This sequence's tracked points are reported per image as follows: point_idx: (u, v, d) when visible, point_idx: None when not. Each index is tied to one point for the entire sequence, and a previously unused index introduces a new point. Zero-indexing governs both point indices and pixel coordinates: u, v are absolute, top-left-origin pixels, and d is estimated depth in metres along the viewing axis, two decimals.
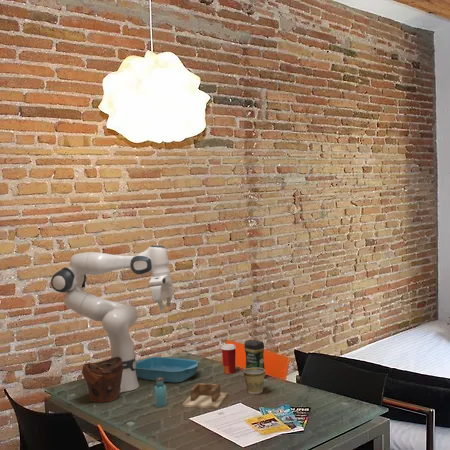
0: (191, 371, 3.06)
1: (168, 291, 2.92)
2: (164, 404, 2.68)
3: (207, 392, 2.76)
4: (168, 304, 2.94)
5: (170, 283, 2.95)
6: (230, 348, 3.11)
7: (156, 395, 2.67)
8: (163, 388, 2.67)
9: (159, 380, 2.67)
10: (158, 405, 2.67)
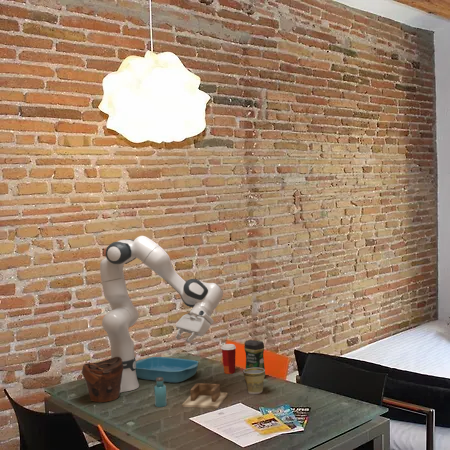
0: (191, 371, 3.06)
1: None
2: (164, 404, 2.68)
3: (207, 392, 2.76)
4: (179, 336, 2.79)
5: None
6: (230, 348, 3.11)
7: (156, 395, 2.67)
8: (163, 388, 2.67)
9: (159, 380, 2.67)
10: (158, 405, 2.67)
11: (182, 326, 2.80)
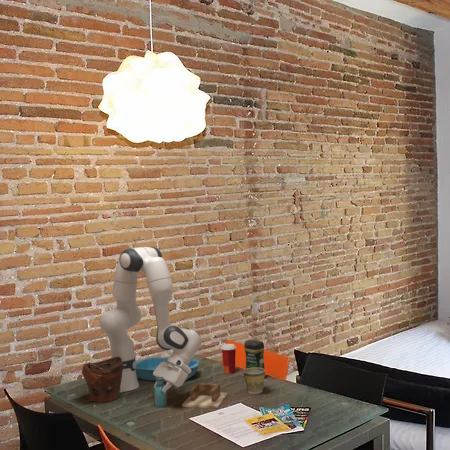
0: (192, 370, 3.07)
1: None
2: (164, 404, 2.68)
3: (207, 392, 2.76)
4: None
5: None
6: (230, 348, 3.11)
7: (156, 395, 2.67)
8: None
9: (159, 380, 2.67)
10: (158, 405, 2.67)
11: (159, 375, 2.73)
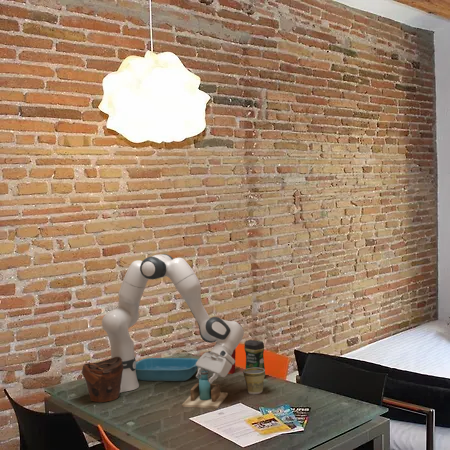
0: (195, 369, 3.10)
1: None
2: (208, 397, 2.71)
3: None
4: (199, 376, 2.76)
5: None
6: None
7: (201, 388, 2.71)
8: None
9: (204, 373, 2.71)
10: (203, 398, 2.70)
11: (203, 365, 2.76)
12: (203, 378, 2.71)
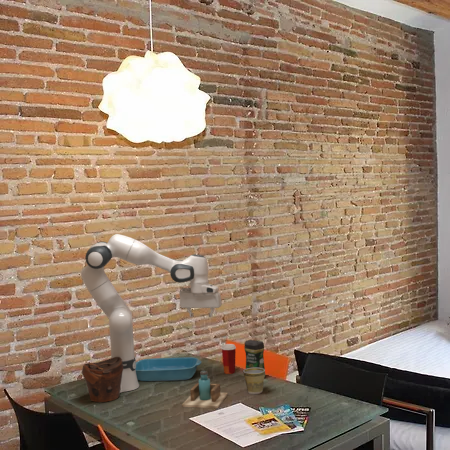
0: (196, 367, 3.13)
1: None
2: (208, 397, 2.71)
3: None
4: None
5: None
6: (230, 348, 3.11)
7: (200, 388, 2.71)
8: (207, 381, 2.71)
9: (203, 374, 2.71)
10: (203, 398, 2.70)
11: (192, 306, 2.93)
12: (203, 378, 2.71)
